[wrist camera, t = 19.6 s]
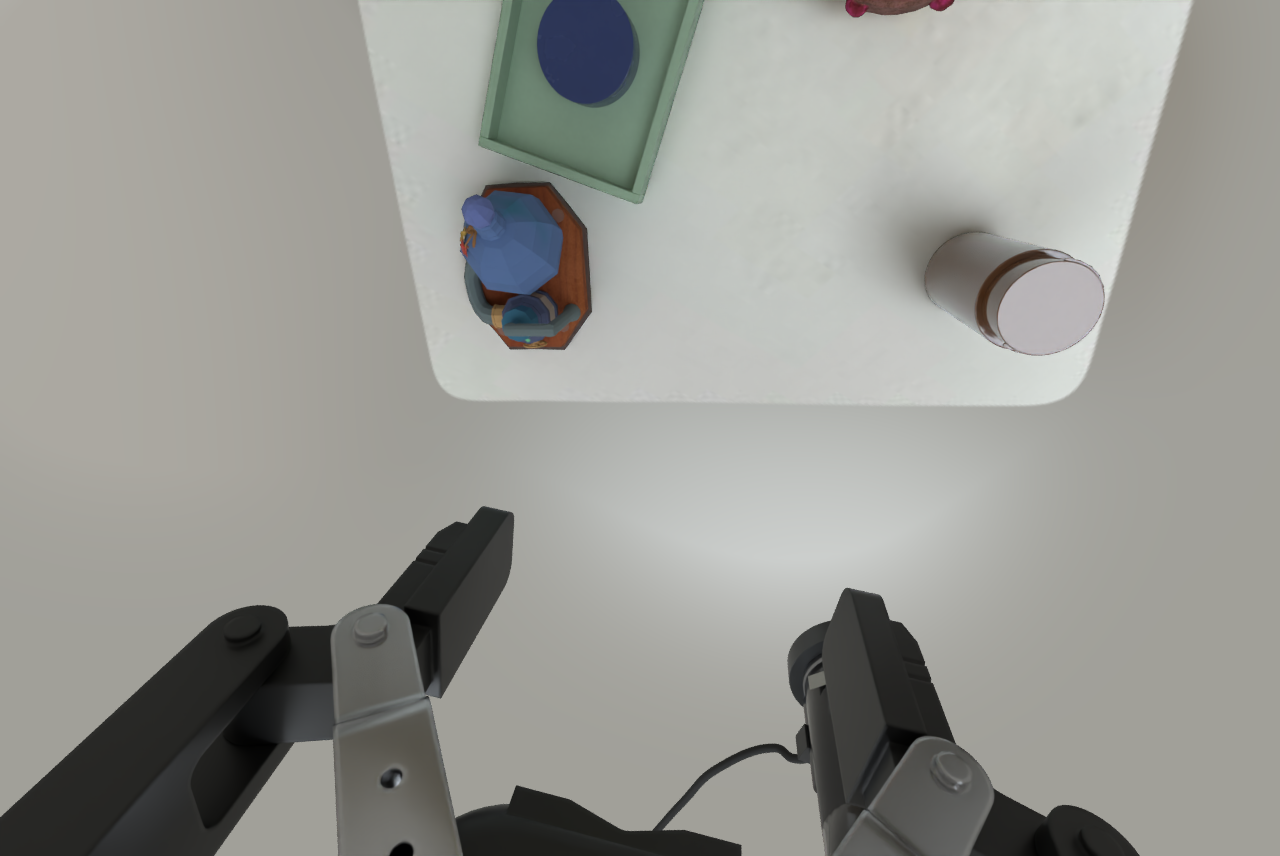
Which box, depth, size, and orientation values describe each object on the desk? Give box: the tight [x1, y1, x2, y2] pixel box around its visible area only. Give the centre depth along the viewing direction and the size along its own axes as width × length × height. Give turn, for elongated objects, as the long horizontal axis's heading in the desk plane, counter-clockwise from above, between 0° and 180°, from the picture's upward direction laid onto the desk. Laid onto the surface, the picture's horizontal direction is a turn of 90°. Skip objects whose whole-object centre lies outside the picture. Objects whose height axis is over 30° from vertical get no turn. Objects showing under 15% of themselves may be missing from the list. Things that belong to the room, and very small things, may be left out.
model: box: [460, 183, 592, 350], centre depth 37 cm, size 12×9×9 cm
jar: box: [925, 232, 1104, 355], centre depth 32 cm, size 5×5×11 cm
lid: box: [537, 0, 640, 108], centre depth 34 cm, size 6×6×2 cm
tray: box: [478, 0, 704, 204], centre depth 34 cm, size 14×11×2 cm
